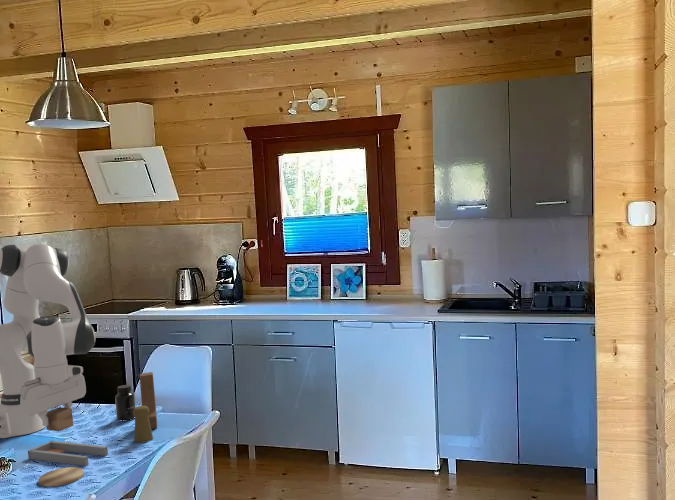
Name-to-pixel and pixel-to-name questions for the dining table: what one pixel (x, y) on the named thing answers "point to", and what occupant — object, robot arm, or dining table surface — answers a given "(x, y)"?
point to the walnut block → (60, 419)
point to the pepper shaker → (142, 424)
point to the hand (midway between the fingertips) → (56, 421)
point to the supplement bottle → (124, 403)
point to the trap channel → (55, 451)
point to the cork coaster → (61, 476)
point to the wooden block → (148, 397)
